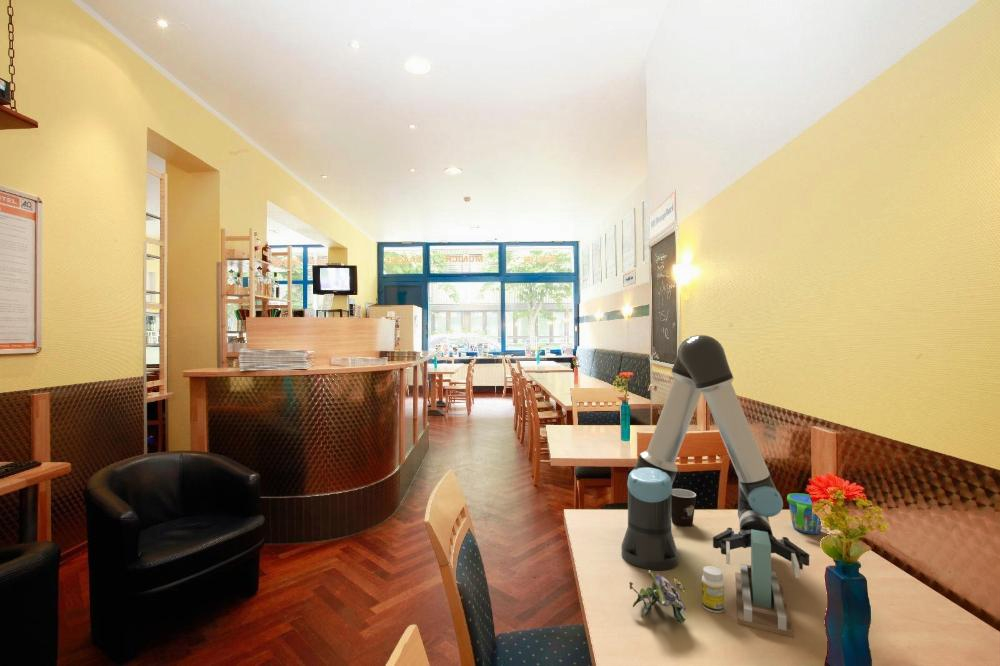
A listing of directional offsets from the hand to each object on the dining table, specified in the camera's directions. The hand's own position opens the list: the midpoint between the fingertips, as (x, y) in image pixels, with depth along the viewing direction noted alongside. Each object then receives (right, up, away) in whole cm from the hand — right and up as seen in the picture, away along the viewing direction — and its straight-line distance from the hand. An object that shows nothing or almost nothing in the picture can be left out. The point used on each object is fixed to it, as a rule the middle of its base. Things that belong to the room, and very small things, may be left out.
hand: (761, 564), depth 103 cm
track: (+1, -10, +2) cm, 10 cm away
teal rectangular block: (+1, -9, +3) cm, 10 cm away
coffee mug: (0, -11, +48) cm, 50 cm away
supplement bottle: (-11, -10, +1) cm, 15 cm away
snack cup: (+40, -11, +43) cm, 60 cm away
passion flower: (-24, -10, -3) cm, 27 cm away
